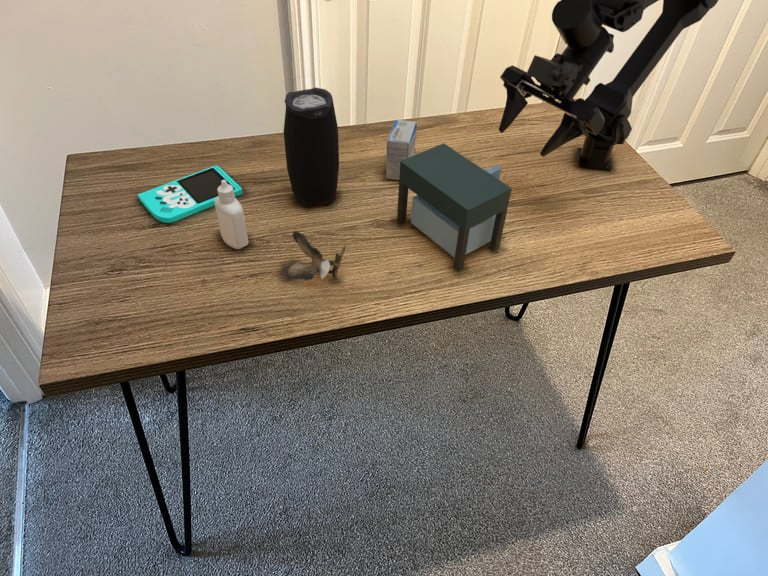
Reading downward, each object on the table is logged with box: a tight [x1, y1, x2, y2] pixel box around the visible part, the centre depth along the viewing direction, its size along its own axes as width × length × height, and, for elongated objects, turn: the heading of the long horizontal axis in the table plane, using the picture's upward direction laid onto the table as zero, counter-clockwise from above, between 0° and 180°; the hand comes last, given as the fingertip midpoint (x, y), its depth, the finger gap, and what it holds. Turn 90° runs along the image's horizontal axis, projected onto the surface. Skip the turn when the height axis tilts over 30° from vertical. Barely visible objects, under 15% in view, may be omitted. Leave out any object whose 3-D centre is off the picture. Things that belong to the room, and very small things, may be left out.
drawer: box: [410, 165, 502, 258], centre depth 102 cm, size 14×12×10 cm
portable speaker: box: [283, 87, 340, 208], centre depth 103 cm, size 9×9×20 cm
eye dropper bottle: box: [214, 180, 250, 250], centre depth 97 cm, size 4×6×12 cm
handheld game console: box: [137, 165, 244, 224], centre depth 109 cm, size 10×16×1 cm, turn 129°
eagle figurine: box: [283, 230, 347, 281], centre depth 94 cm, size 8×7×9 cm
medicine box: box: [385, 119, 418, 181], centre depth 114 cm, size 8×4×9 cm, turn 168°
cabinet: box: [396, 143, 513, 272], centre depth 99 cm, size 10×16×12 cm, turn 38°
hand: (520, 143), depth 100 cm, fingers open, 9 cm apart
